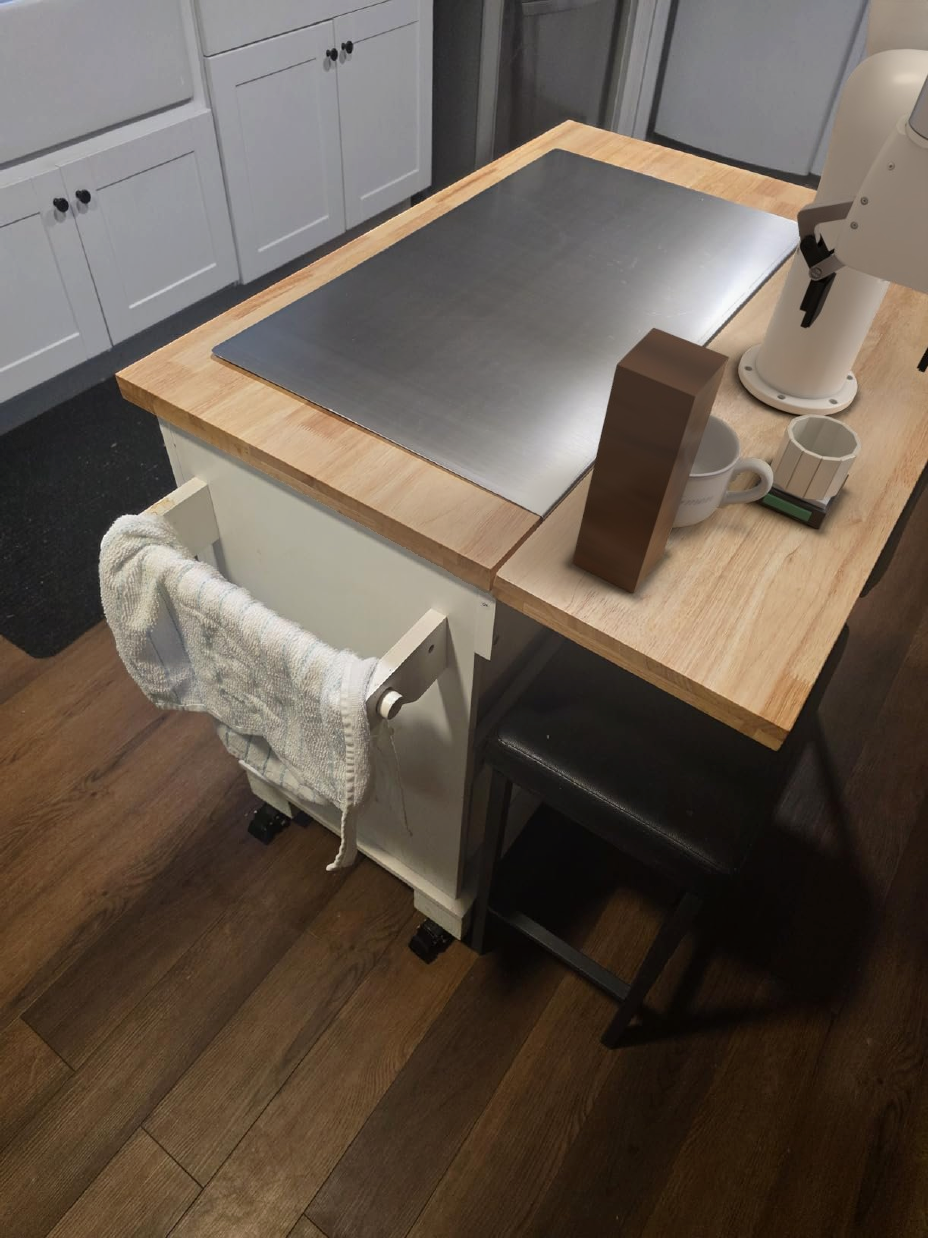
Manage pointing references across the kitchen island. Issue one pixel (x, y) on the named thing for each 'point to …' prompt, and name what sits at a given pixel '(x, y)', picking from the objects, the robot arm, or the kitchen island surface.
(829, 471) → the white faceted cup
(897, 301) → the kitchen island surface
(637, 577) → the block
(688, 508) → the teacup
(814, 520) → the scale
